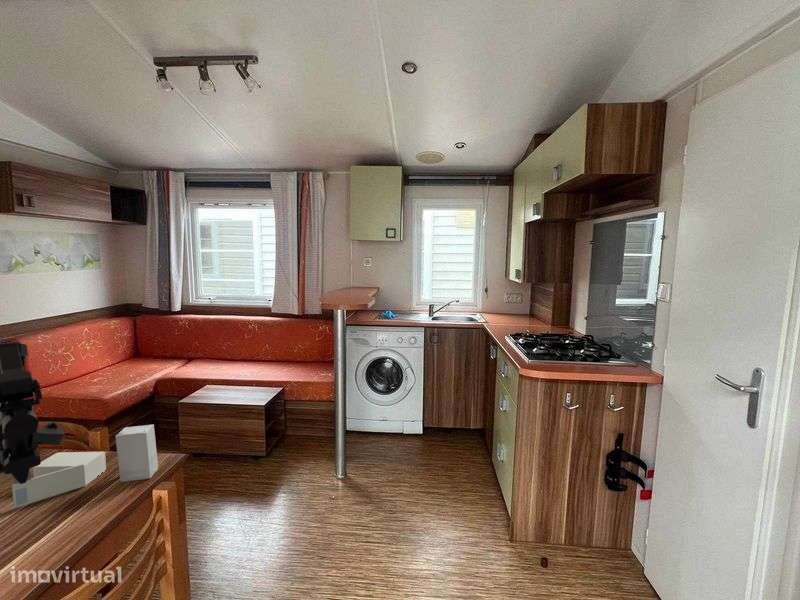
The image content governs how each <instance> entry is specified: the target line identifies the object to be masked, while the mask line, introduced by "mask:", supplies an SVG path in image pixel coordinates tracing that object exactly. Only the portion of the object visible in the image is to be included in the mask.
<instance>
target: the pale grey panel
mask: <svg viewBox="0 0 800 600" xmlns="http://www.w3.org/2000/svg"><path fill="white" fill-rule="evenodd" d="M13 478H14V483H12V484H11V488H12V489H11V490H12V502H13V509H16V508H20V507H23V506H26V505H29V504H32V503H36V502H40V501H42V500H44V499H48V498H52V497H54V496H58V495H61V494H64V493H67V492H70V491H74V490H77V489H80V488H83V487H86V486H85V477H84V464H80V465H77V466H73V467H70V468H66V469H63V470H59V471H56V472H52V473H48V474H45V475H41V476H38V477H32V471H31V470H29V473H28V477H27V482H26V483H23V484H20V483H19V482H18V481H17V480H16V479H15V477H14V476H13Z"/></svg>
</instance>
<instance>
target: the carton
mask: <svg viewBox="0 0 800 600" xmlns="http://www.w3.org/2000/svg"><path fill="white" fill-rule="evenodd" d="M106 461H107V459H106V451H75V452H74V451H71V452H70V451H68V452H67V451H66V452H60V451H59V452H56V453H54V454H53V455H50V456H49V457H47V458H45V459H44V460H42V461H41V464H40V465H38V466H35V467H32V474H33V475H32V478H34V477H38V476H41V475H45V474H48V473H52V472H56V471H59V470H63V469H66V468H70V467H73V466H77V465H80V464H84V477H85V486H84V487H86V486H87V485H89V484H90V483H91V482H93V481H94V480H95V479H97V478H98V477H99V476H100V475H102V474H103V473H105V472H106V471H107V463H106ZM105 470H106V471H105ZM102 472H103V473H102ZM101 473H102V474H101ZM98 475H99V476H98ZM97 476H98V477H97Z"/></svg>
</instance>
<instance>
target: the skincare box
mask: <svg viewBox="0 0 800 600" xmlns="http://www.w3.org/2000/svg"><path fill="white" fill-rule="evenodd" d="M155 433H156V432H155V424H145V425H137V426H136V425H135V426H127V427H124V428H123V429H122V430H120V432H118V433H117V434H115V443H116V444H115V446H116V452H117V460H118V463H117V464H118V470H119V479H120V483H124V482H125V483H126V482H130V481H131V482H132V481H139V480H140V481H141V480H147V479H151V478H152V477H153V475H155V473H156V472H157V471H158V469H159V462H158V454H157V443H156V434H155Z"/></svg>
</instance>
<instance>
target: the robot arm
mask: <svg viewBox="0 0 800 600" xmlns="http://www.w3.org/2000/svg"><path fill="white" fill-rule="evenodd" d="M28 358H29V353H28V345H27V344H26V343H21V342H19V341H10V342H0V470H3V472H4V473H3V474H4V475H11V476H13V478H14V477H15V479H16V480H17V481H18V482H19V483H20V484H23V483H26V482H27V477H28V473H29V471H30V469H31V468H32V469H33V467H35V466H38V465H40V464H41V462H42V461H41V454H40V452H39V451H37V449H38V448H39V445H41V446H42V445H45V446H46V445H51V446H52V445H53V446H60V445H61V444H62V442H63V439H64V436H65V434H66V432H65V429H64V428H63V427H60V426H59V427H58V425H57V422H51V421H50V422H48V423H47V424H46V425H45V426H42V427H39V420H38V418H37V415H36V414H35V412H34V406H36V405H40V404H41V402H40V400H42V399H43V395H42V390H41V389H42V388H41V385H40V382H39V381H38V379H36V378H34V377H33V376H32V372H30V371H28V370H25V369H24V368H25V363H26V362H25V359H28ZM33 378H34V379H33Z"/></svg>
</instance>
